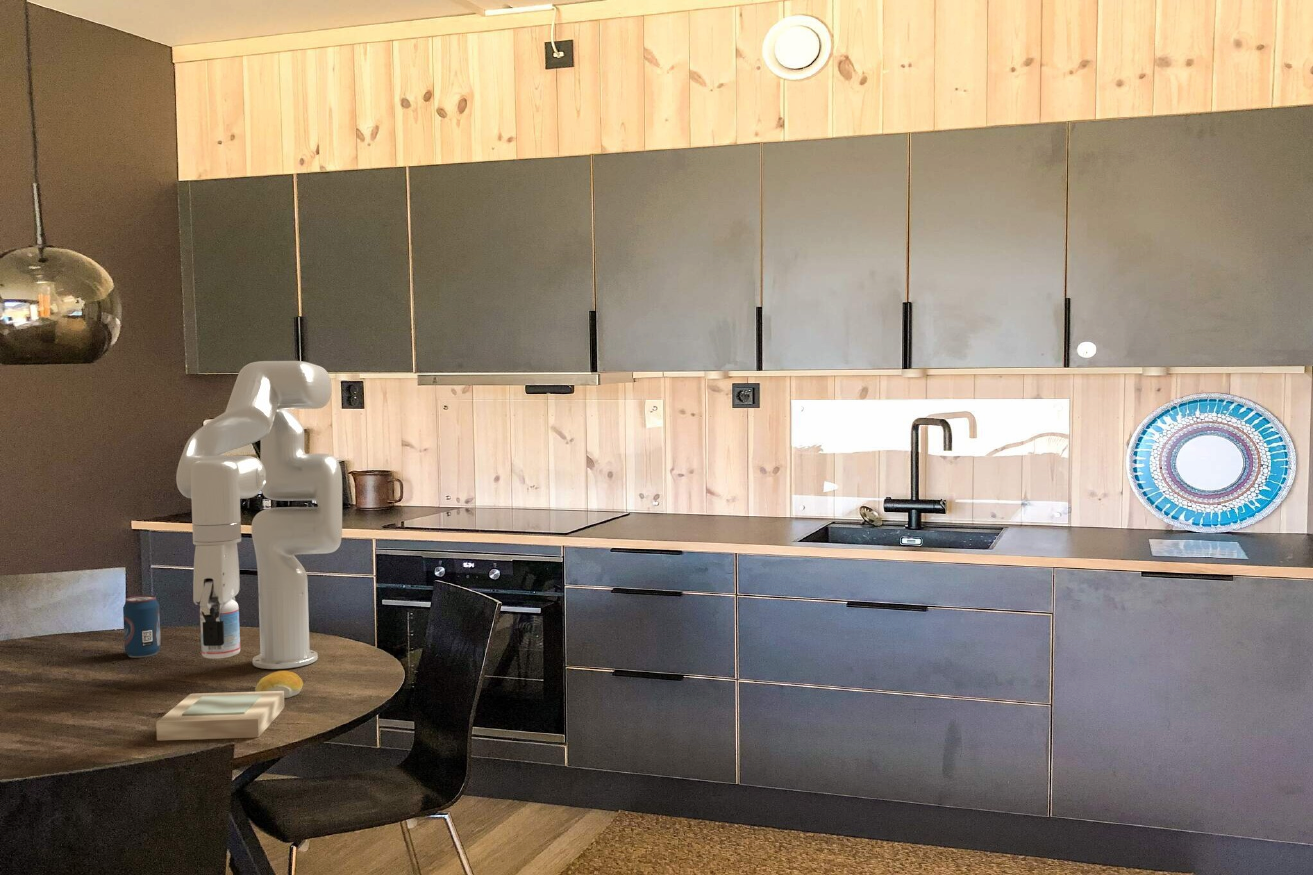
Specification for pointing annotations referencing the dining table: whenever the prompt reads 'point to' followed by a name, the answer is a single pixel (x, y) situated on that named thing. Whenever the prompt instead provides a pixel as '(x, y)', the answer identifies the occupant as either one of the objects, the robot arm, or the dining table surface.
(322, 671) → the dining table surface
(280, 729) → the dining table surface
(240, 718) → the birch plinth
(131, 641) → the soda can
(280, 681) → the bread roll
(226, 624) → the pill bottle
